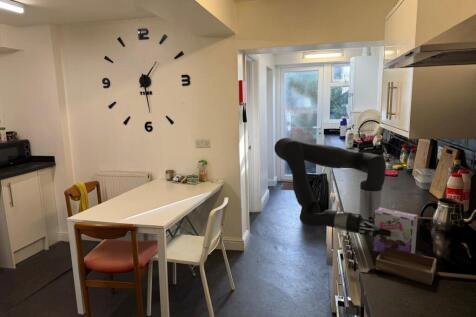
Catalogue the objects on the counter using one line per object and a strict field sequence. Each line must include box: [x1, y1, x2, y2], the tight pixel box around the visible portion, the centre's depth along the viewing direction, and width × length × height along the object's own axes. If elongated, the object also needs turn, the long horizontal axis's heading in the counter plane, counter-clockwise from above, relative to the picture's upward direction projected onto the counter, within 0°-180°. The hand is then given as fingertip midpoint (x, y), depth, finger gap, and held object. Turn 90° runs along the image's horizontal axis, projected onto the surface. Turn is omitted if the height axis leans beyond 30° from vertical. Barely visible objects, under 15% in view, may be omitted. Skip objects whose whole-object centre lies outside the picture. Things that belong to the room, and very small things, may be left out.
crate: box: [375, 247, 437, 286], centre depth 111 cm, size 11×17×4 cm, turn 53°
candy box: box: [371, 206, 419, 254], centre depth 121 cm, size 14×6×16 cm, turn 45°
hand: (392, 230), depth 122 cm, fingers closed on candy box, 6 cm apart
